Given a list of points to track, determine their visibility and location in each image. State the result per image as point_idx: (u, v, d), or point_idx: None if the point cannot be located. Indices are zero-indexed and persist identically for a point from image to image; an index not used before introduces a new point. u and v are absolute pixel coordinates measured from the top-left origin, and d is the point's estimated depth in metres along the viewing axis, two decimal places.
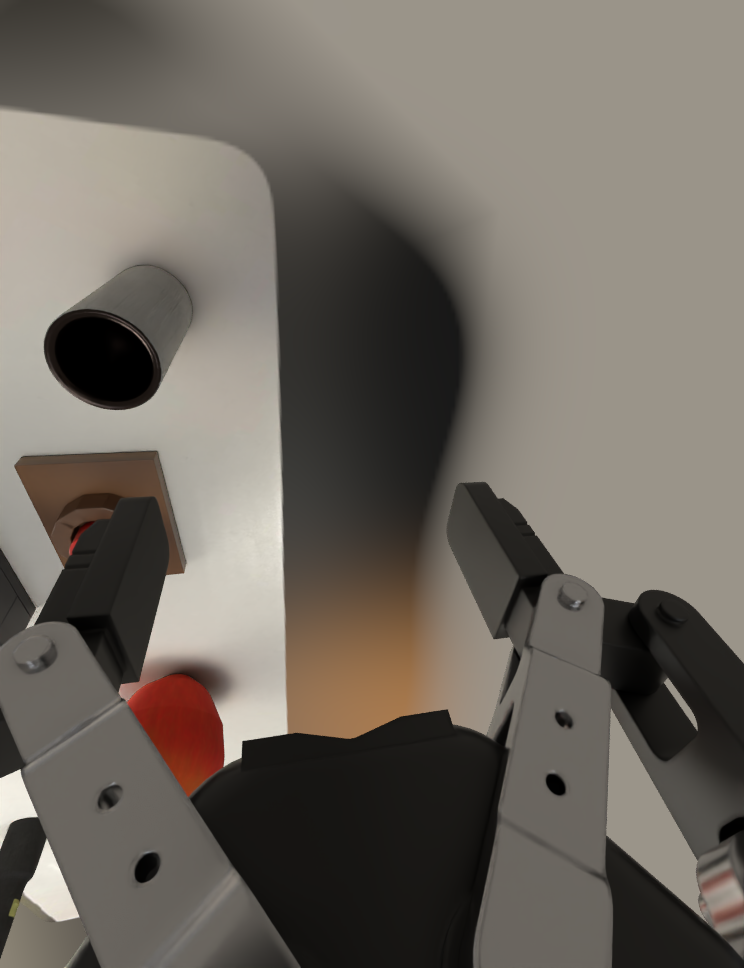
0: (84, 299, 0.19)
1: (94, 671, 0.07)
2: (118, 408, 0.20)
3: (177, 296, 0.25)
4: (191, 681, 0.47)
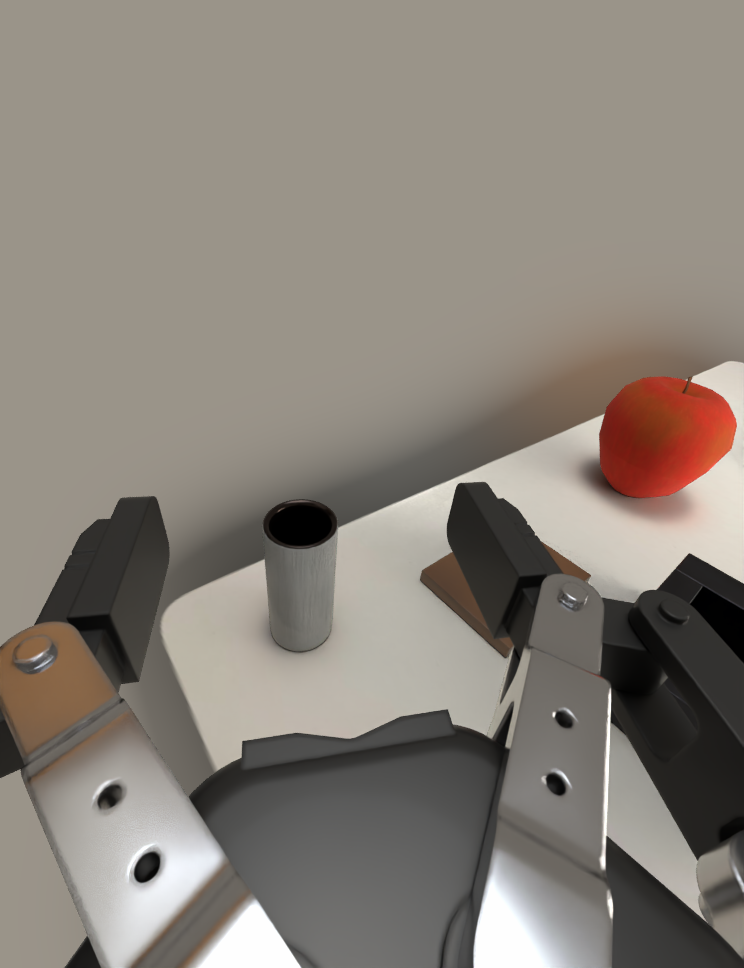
0: (277, 569, 0.26)
1: (94, 671, 0.07)
2: (329, 509, 0.27)
3: None
4: (604, 473, 0.50)
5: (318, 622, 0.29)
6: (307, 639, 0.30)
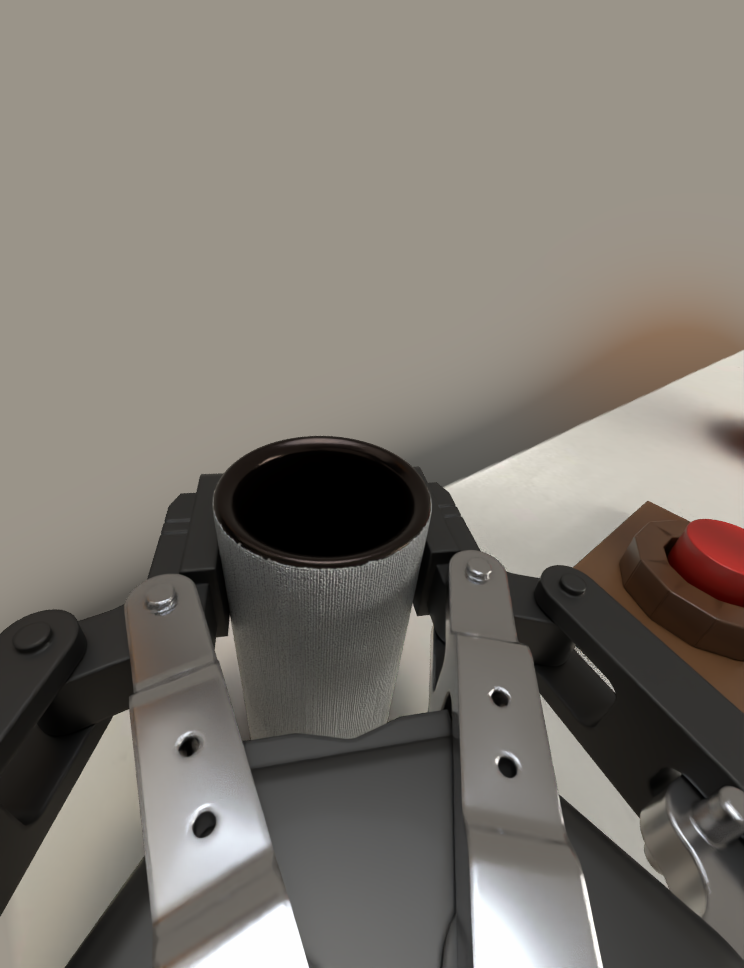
0: (260, 628, 0.09)
1: (201, 628, 0.07)
2: (398, 457, 0.10)
3: None
4: None
5: None
6: None
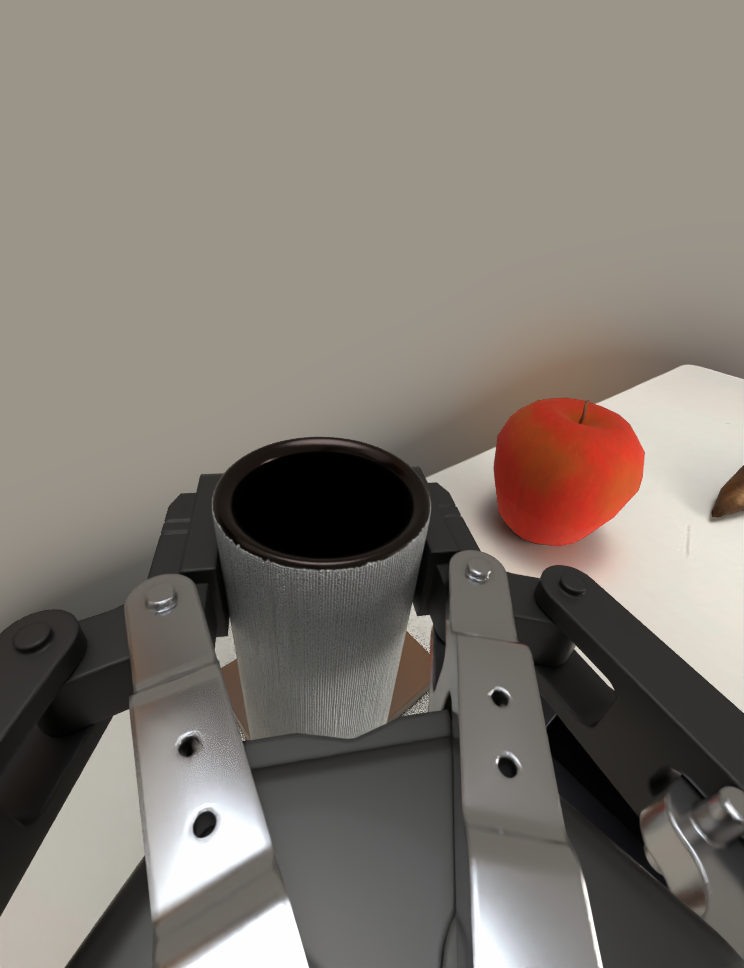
0: (259, 629, 0.09)
1: (201, 628, 0.07)
2: (397, 458, 0.10)
3: None
4: (500, 514, 0.41)
5: None
6: None
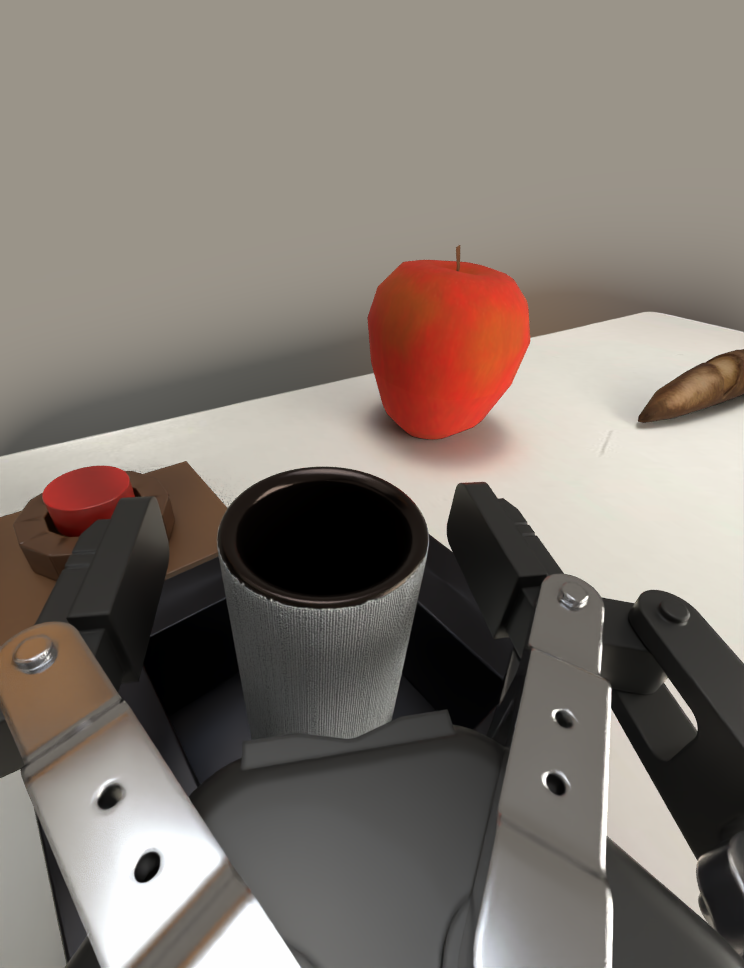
0: (263, 660, 0.09)
1: (94, 671, 0.07)
2: (396, 488, 0.11)
3: None
4: (384, 407, 0.36)
5: None
6: None
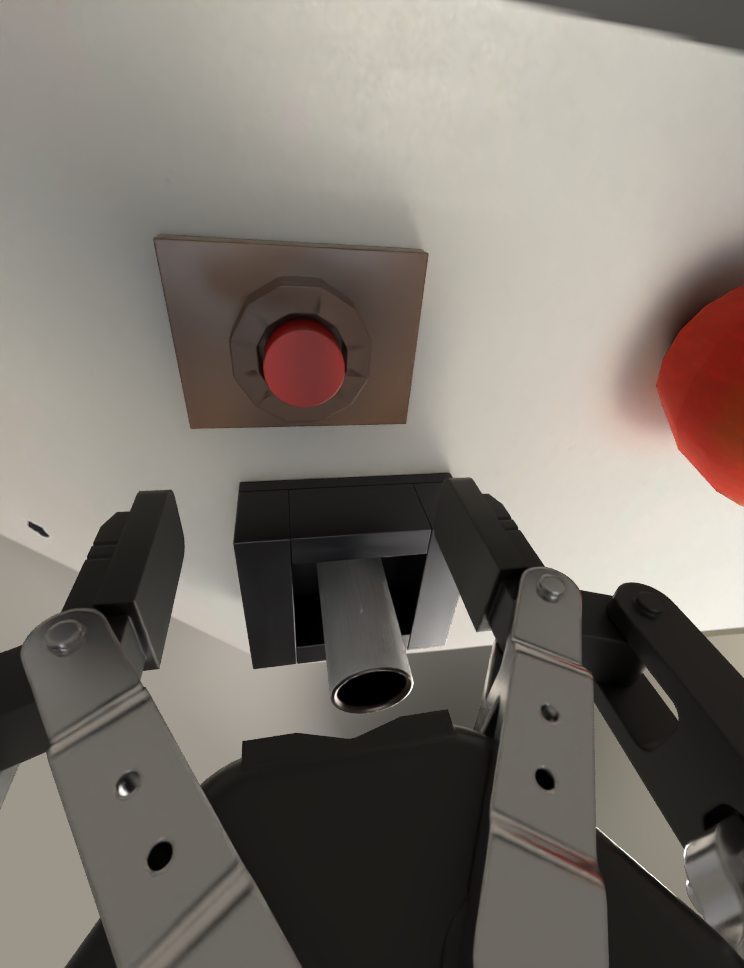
0: None
1: (119, 658, 0.07)
2: (411, 686, 0.23)
3: (337, 563, 0.28)
4: (702, 309, 0.24)
5: None
6: None
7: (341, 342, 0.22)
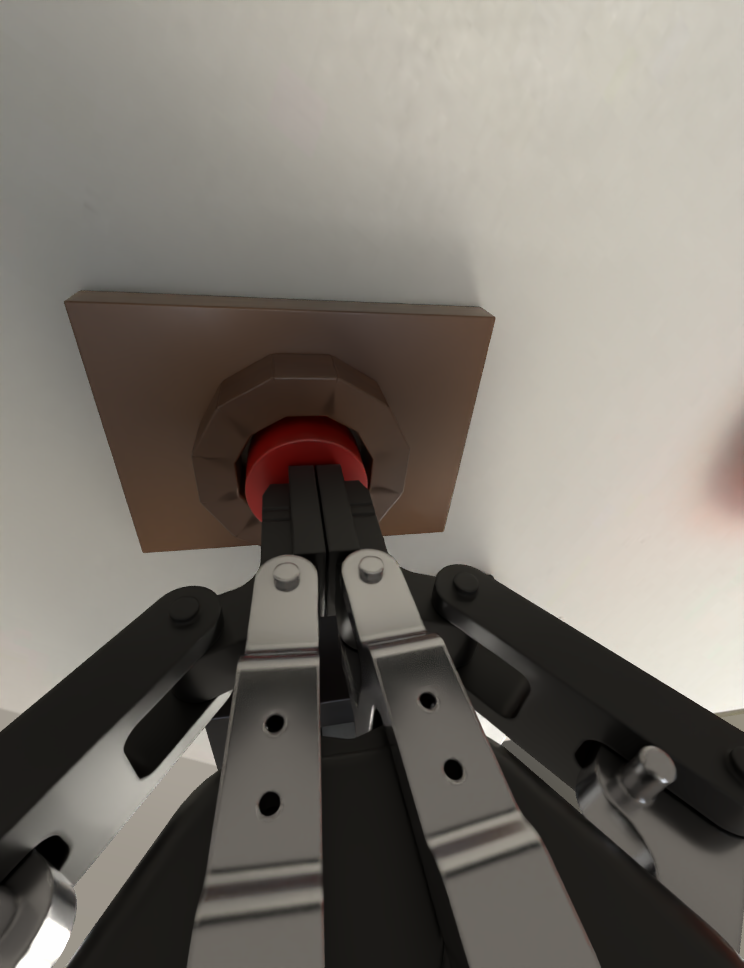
0: None
1: (312, 614, 0.08)
2: None
3: None
4: None
5: None
6: None
7: (361, 438, 0.15)
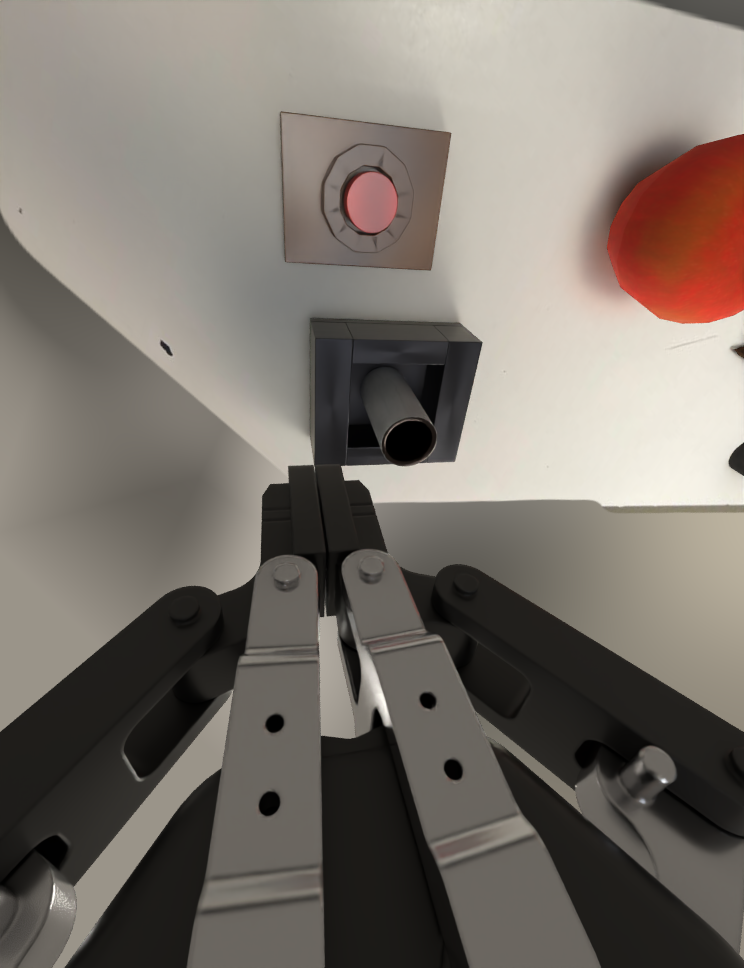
0: (377, 438, 0.35)
1: (312, 614, 0.08)
2: (435, 442, 0.34)
3: (379, 379, 0.38)
4: (635, 186, 0.35)
5: None
6: None
7: None
